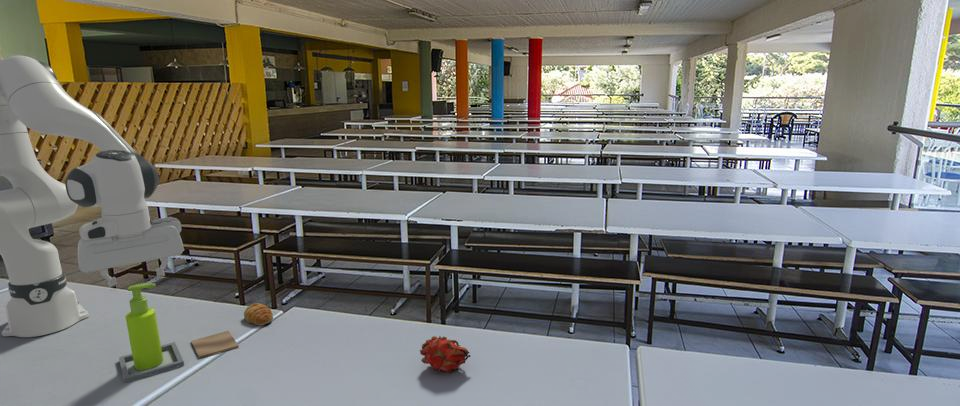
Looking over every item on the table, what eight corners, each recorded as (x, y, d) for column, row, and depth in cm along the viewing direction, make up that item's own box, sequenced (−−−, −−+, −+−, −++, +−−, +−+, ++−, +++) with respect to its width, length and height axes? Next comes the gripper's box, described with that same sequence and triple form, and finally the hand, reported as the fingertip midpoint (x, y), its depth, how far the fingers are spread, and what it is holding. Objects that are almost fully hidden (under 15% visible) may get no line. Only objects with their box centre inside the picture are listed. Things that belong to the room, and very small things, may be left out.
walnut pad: (191, 342, 137) (191, 341, 137) (228, 332, 142) (228, 330, 142) (199, 358, 129) (199, 356, 129) (238, 346, 135) (238, 345, 134)
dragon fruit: (417, 370, 126) (466, 380, 125) (412, 367, 118) (464, 378, 117) (425, 334, 129) (473, 344, 128) (421, 329, 122) (472, 339, 120)
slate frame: (119, 361, 128) (118, 357, 128) (175, 345, 136) (174, 341, 135) (124, 382, 119) (123, 379, 119) (184, 365, 126) (183, 361, 126)
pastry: (279, 321, 149) (278, 308, 148) (256, 329, 144) (254, 317, 143) (264, 311, 155) (263, 299, 154) (241, 319, 150) (239, 306, 150)
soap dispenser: (165, 366, 126) (152, 287, 121) (132, 372, 124) (117, 292, 119) (169, 354, 131) (157, 278, 126) (137, 359, 129) (123, 283, 124)
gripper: (177, 212, 128) (185, 266, 131) (71, 228, 115) (83, 287, 119) (181, 217, 123) (190, 273, 126) (71, 234, 111) (84, 296, 114)
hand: (137, 280), depth 122 cm, fingers open, 8 cm apart
